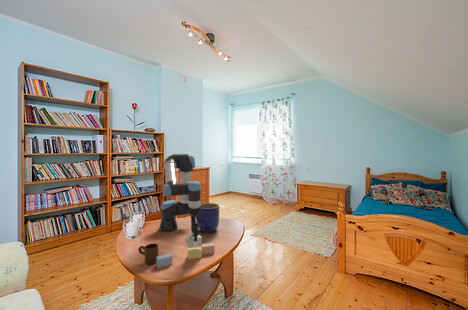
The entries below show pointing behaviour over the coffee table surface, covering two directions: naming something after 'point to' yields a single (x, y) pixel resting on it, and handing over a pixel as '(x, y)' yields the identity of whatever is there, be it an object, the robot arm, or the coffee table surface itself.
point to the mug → (149, 253)
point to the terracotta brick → (208, 248)
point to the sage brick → (190, 241)
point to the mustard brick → (194, 253)
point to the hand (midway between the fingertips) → (194, 244)
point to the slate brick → (164, 260)
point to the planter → (208, 217)
